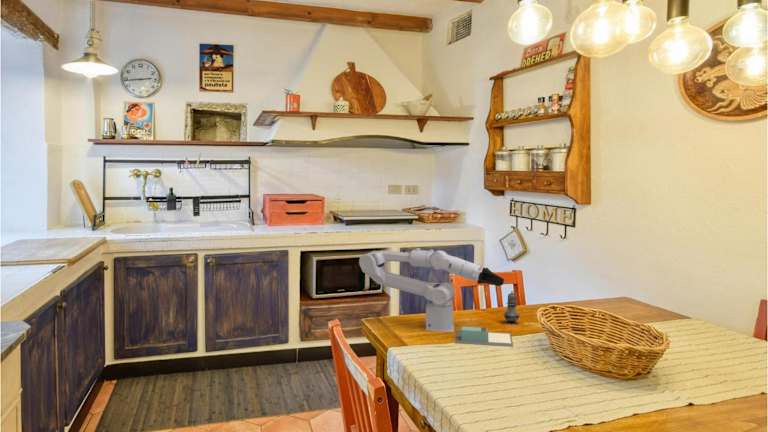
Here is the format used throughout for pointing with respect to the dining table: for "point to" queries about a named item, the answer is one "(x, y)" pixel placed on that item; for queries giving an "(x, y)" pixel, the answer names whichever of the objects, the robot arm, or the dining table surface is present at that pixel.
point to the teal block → (474, 334)
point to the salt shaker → (511, 310)
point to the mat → (489, 339)
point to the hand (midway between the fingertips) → (502, 282)
